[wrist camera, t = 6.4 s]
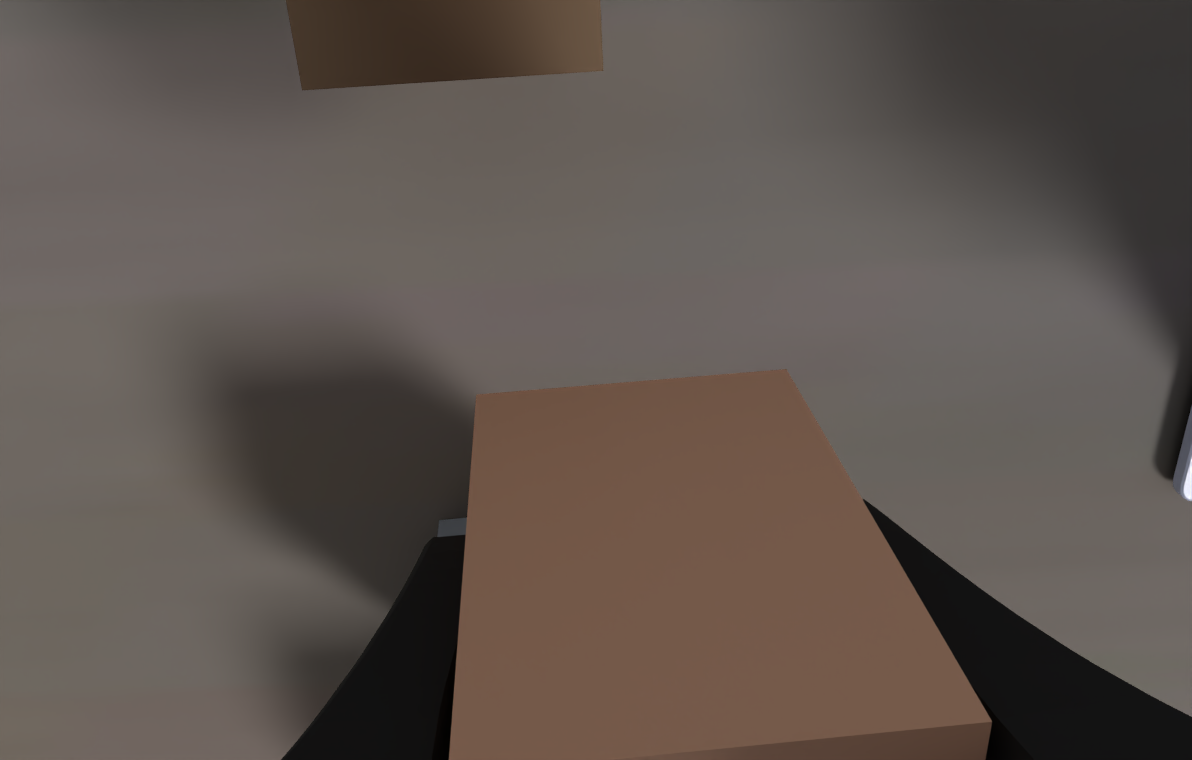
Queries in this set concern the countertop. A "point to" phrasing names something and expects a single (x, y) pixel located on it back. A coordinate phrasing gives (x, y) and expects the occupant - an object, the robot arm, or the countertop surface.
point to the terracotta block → (688, 588)
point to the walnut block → (441, 40)
